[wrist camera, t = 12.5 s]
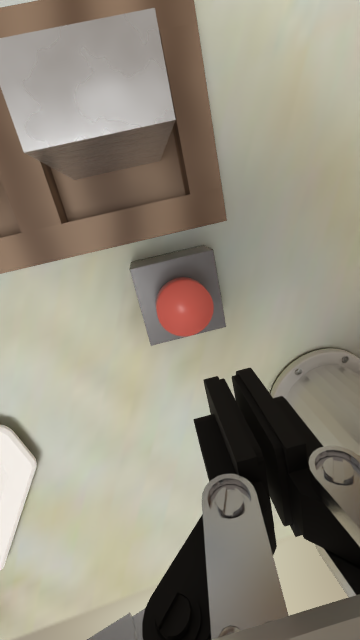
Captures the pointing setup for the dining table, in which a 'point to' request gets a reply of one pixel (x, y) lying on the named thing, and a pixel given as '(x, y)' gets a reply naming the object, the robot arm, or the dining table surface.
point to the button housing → (166, 268)
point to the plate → (12, 485)
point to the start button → (184, 306)
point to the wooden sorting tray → (102, 127)
